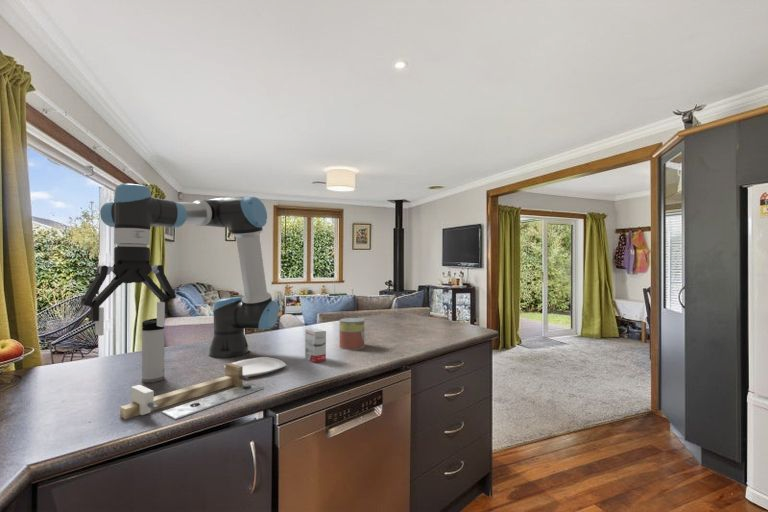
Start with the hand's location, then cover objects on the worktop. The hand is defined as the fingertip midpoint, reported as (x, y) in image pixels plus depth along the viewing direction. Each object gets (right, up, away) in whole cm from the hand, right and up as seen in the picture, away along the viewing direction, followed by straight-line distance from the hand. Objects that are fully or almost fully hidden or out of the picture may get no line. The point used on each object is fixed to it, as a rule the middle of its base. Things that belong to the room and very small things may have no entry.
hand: (131, 330), depth 92 cm
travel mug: (-12, -22, +28) cm, 38 cm away
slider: (+3, -21, +1) cm, 22 cm away
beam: (+10, -22, +11) cm, 26 cm away
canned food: (+49, -22, +72) cm, 90 cm away
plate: (+18, -23, +39) cm, 48 cm away
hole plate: (+17, -22, +11) cm, 30 cm away
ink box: (+37, -22, +51) cm, 67 cm away
